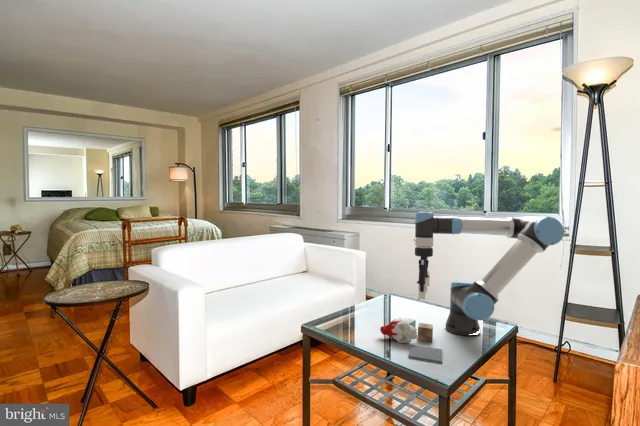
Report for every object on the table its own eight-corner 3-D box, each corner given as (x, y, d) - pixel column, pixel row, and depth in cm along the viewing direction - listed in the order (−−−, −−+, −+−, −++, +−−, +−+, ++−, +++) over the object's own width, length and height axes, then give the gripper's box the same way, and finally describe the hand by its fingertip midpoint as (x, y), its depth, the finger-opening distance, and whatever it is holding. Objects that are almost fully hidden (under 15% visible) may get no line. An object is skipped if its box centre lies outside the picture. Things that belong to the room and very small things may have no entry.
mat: (442, 351, 138) (442, 349, 138) (442, 363, 127) (442, 361, 127) (411, 346, 142) (411, 344, 142) (408, 357, 131) (408, 355, 131)
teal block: (415, 328, 165) (415, 320, 165) (409, 331, 160) (409, 322, 160) (407, 326, 167) (407, 318, 167) (401, 329, 163) (402, 320, 163)
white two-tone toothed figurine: (418, 345, 142) (381, 346, 144) (415, 335, 153) (380, 336, 155) (416, 323, 142) (379, 325, 144) (413, 315, 153) (379, 316, 155)
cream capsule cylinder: (409, 331, 160) (409, 318, 160) (408, 334, 155) (408, 321, 155) (398, 329, 162) (398, 316, 162) (396, 333, 157) (397, 319, 157)
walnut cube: (432, 338, 152) (433, 324, 152) (432, 342, 147) (432, 328, 147) (418, 336, 154) (418, 322, 154) (417, 340, 149) (417, 326, 149)
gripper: (417, 244, 164) (416, 288, 164) (412, 249, 141) (411, 301, 141) (434, 244, 161) (433, 290, 162) (431, 250, 138) (430, 303, 138)
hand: (422, 295), depth 151 cm, fingers open, 13 cm apart
